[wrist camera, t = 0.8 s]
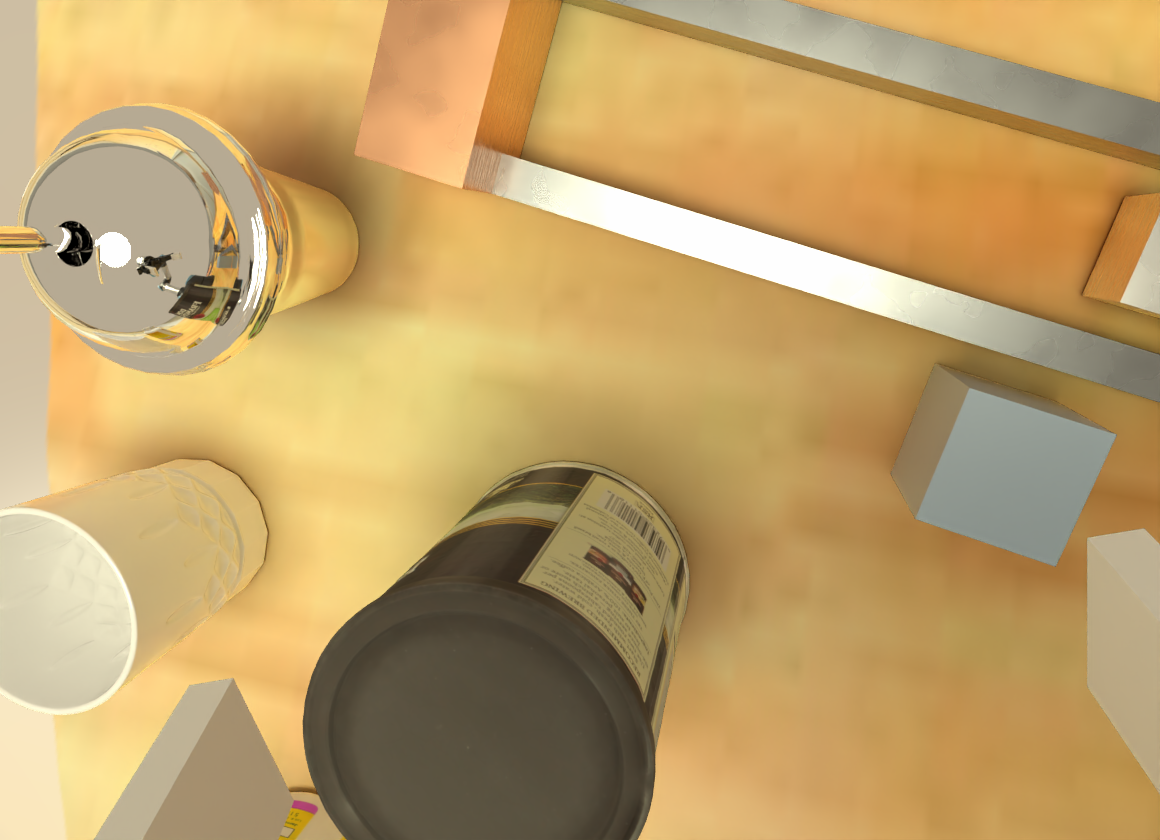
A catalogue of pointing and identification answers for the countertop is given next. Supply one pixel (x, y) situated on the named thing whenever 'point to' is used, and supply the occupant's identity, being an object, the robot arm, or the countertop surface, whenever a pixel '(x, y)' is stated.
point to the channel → (764, 29)
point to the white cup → (118, 578)
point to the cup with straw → (173, 239)
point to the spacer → (999, 464)
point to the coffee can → (508, 672)
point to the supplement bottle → (309, 820)
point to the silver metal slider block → (1131, 258)
